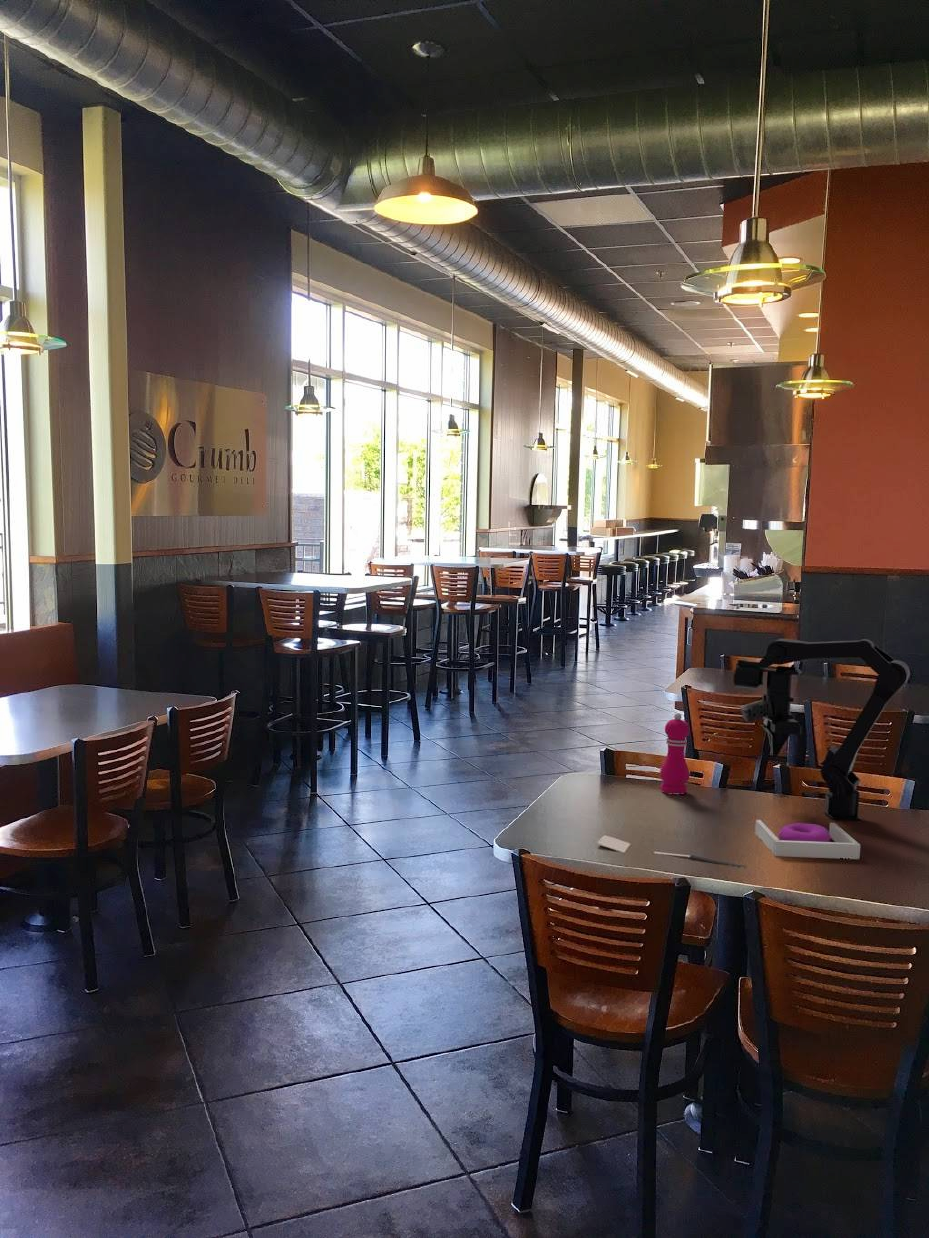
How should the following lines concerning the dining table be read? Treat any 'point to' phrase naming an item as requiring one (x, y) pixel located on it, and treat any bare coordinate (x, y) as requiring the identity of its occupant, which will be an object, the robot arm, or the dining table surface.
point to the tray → (811, 844)
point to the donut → (804, 833)
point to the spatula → (622, 847)
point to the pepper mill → (675, 757)
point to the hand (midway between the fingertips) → (774, 755)
